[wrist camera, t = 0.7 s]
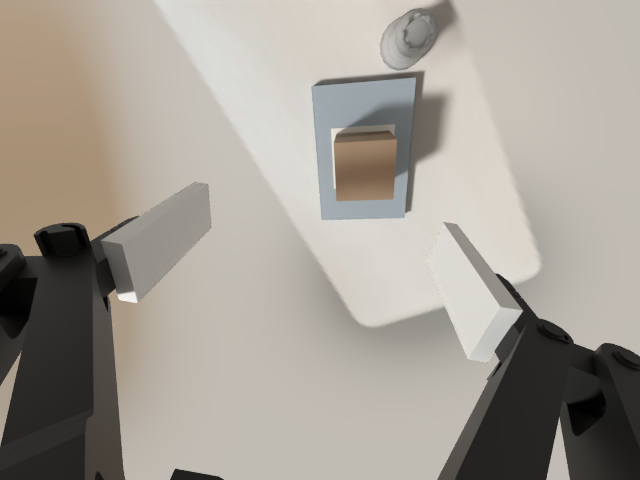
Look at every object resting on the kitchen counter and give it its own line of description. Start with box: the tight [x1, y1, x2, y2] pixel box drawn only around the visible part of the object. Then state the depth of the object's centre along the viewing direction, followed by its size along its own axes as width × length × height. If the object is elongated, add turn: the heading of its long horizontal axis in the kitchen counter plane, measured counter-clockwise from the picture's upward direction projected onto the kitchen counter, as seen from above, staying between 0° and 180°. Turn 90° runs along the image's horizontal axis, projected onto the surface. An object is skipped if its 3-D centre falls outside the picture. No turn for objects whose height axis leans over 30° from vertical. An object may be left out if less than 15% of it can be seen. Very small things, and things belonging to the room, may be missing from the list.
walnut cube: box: [334, 131, 397, 201], centre depth 30 cm, size 6×6×6 cm
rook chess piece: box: [380, 8, 437, 70], centre depth 25 cm, size 4×4×8 cm
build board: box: [312, 78, 416, 220], centre depth 33 cm, size 16×11×1 cm
